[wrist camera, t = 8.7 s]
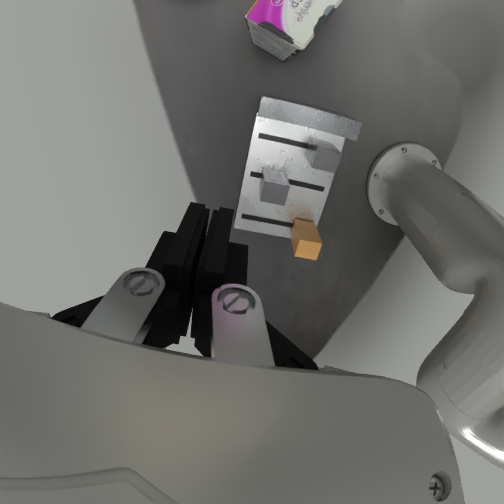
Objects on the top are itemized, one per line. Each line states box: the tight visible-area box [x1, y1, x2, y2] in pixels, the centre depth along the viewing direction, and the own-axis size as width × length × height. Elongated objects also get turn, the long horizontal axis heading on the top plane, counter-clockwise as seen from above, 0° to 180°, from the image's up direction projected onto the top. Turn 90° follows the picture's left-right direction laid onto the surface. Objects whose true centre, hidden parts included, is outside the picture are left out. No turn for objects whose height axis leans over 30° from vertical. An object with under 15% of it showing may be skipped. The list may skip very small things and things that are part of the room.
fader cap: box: [291, 219, 322, 260], centre depth 37 cm, size 3×2×5 cm
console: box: [234, 94, 362, 238], centre depth 34 cm, size 11×18×7 cm, turn 169°
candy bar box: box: [245, 0, 343, 62], centre depth 19 cm, size 11×5×16 cm, turn 149°
